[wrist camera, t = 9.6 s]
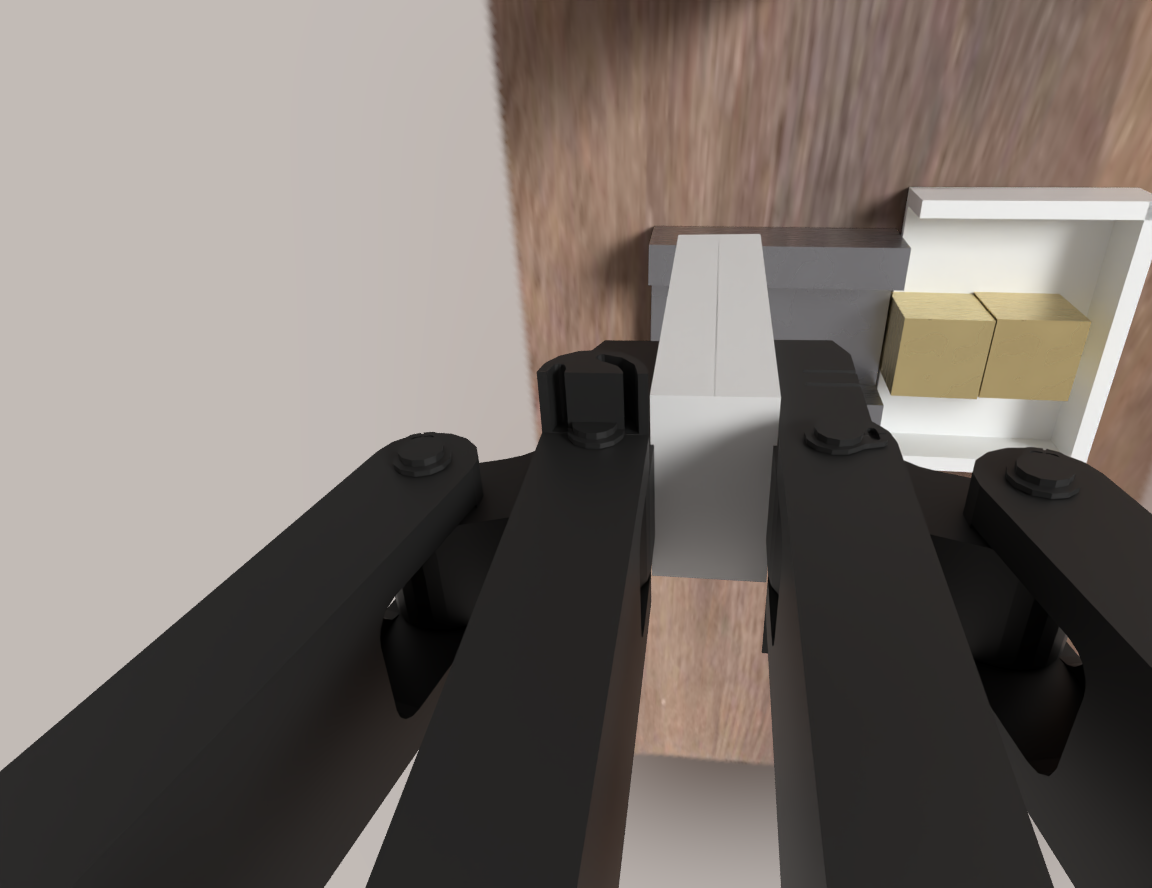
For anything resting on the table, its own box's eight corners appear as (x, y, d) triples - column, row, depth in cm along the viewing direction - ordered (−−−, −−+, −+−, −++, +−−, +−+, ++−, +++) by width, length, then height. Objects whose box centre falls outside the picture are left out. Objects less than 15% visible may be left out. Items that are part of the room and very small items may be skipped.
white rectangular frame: (909, 187, 39) (922, 200, 36) (1138, 187, 37) (1170, 201, 35) (866, 440, 46) (875, 467, 43) (1060, 449, 44) (1081, 478, 41)
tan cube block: (889, 291, 41) (905, 318, 37) (972, 293, 40) (995, 321, 37) (877, 363, 43) (890, 395, 39) (955, 366, 42) (977, 399, 39)
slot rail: (654, 226, 42) (649, 244, 38) (895, 228, 40) (911, 248, 37) (651, 399, 46) (645, 429, 43) (866, 408, 45) (877, 440, 41)
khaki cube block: (973, 291, 40) (997, 318, 37) (1059, 293, 40) (1091, 321, 36) (957, 365, 42) (978, 397, 39) (1039, 368, 42) (1067, 401, 38)
